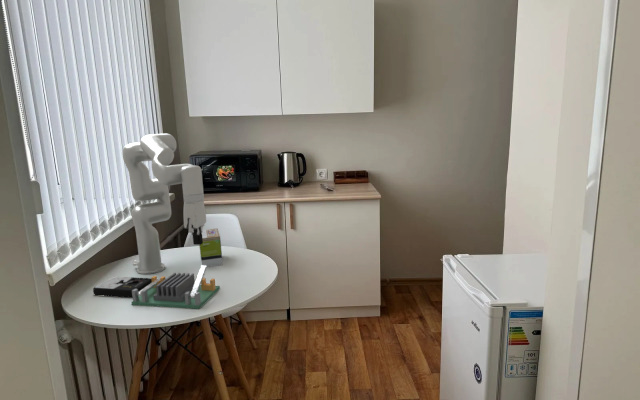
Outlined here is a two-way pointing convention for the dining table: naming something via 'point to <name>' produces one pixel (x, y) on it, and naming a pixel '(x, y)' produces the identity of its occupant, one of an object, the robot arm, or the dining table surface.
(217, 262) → the tea box
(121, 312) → the dining table surface
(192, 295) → the strap right
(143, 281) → the multimeter
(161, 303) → the cooler board
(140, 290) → the strap left
